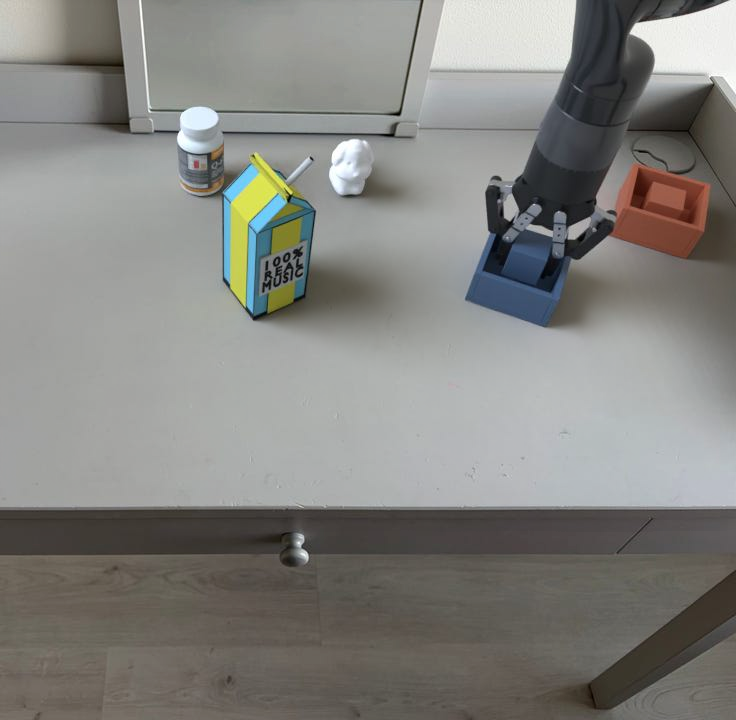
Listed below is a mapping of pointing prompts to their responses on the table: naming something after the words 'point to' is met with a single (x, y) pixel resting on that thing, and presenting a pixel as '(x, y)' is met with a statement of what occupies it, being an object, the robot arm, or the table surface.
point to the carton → (266, 238)
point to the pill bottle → (200, 151)
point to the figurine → (351, 166)
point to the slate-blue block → (528, 256)
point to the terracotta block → (664, 200)
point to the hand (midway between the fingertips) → (523, 267)
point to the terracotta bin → (658, 228)
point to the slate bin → (515, 288)
